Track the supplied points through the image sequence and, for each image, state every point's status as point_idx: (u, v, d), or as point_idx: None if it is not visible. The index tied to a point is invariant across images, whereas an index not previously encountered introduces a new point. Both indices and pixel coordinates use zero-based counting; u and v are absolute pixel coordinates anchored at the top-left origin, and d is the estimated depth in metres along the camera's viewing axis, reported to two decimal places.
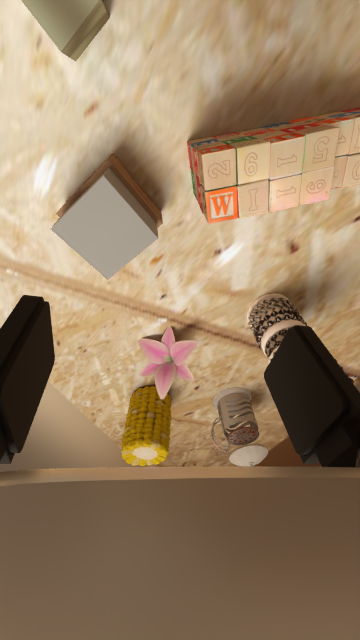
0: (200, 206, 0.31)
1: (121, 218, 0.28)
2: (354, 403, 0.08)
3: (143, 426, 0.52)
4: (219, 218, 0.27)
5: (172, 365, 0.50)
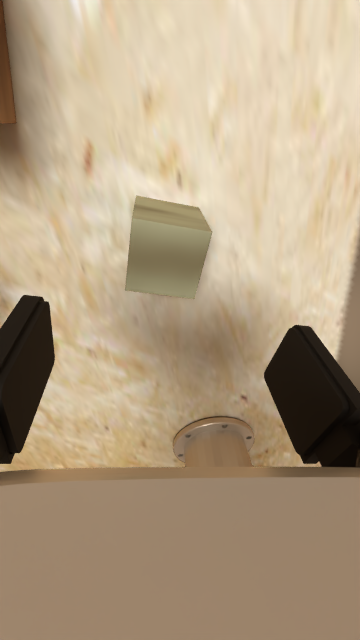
0: None
1: None
2: (354, 403, 0.08)
3: None
4: None
5: None
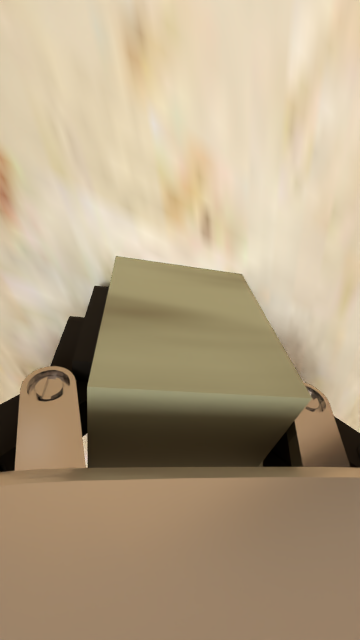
0: None
1: None
2: None
3: None
4: None
5: None
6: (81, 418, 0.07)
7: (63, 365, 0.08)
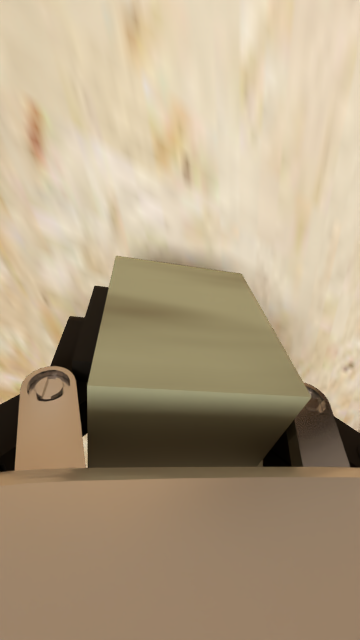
0: None
1: None
2: None
3: None
4: None
5: None
6: (81, 418, 0.07)
7: (63, 365, 0.08)
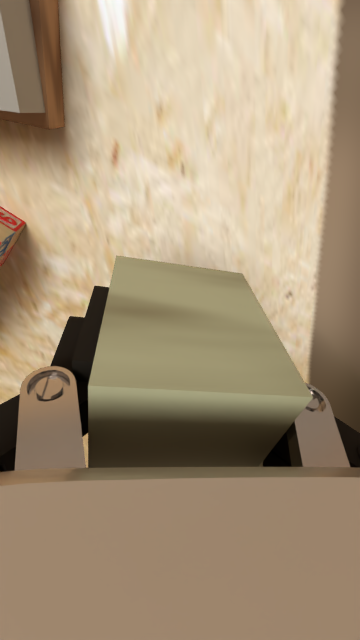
0: None
1: None
2: None
3: None
4: None
5: None
6: (81, 418, 0.07)
7: (63, 365, 0.08)
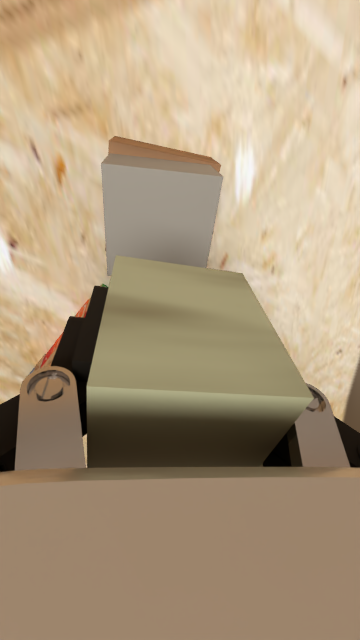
0: None
1: None
2: None
3: None
4: None
5: None
6: (81, 418, 0.07)
7: (63, 365, 0.08)
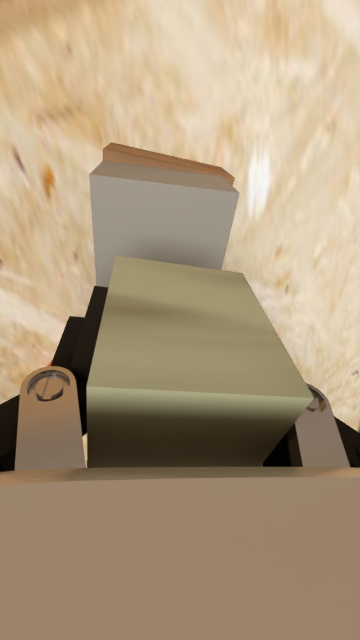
0: None
1: None
2: None
3: None
4: None
5: None
6: (81, 418, 0.07)
7: (63, 365, 0.08)
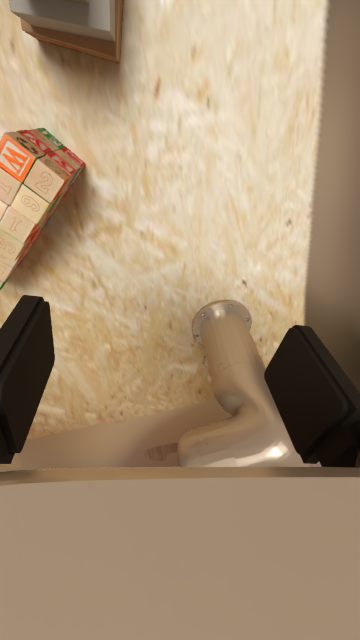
0: (26, 131, 0.30)
1: None
2: (354, 403, 0.08)
3: None
4: (2, 146, 0.26)
5: None
6: None
7: None
